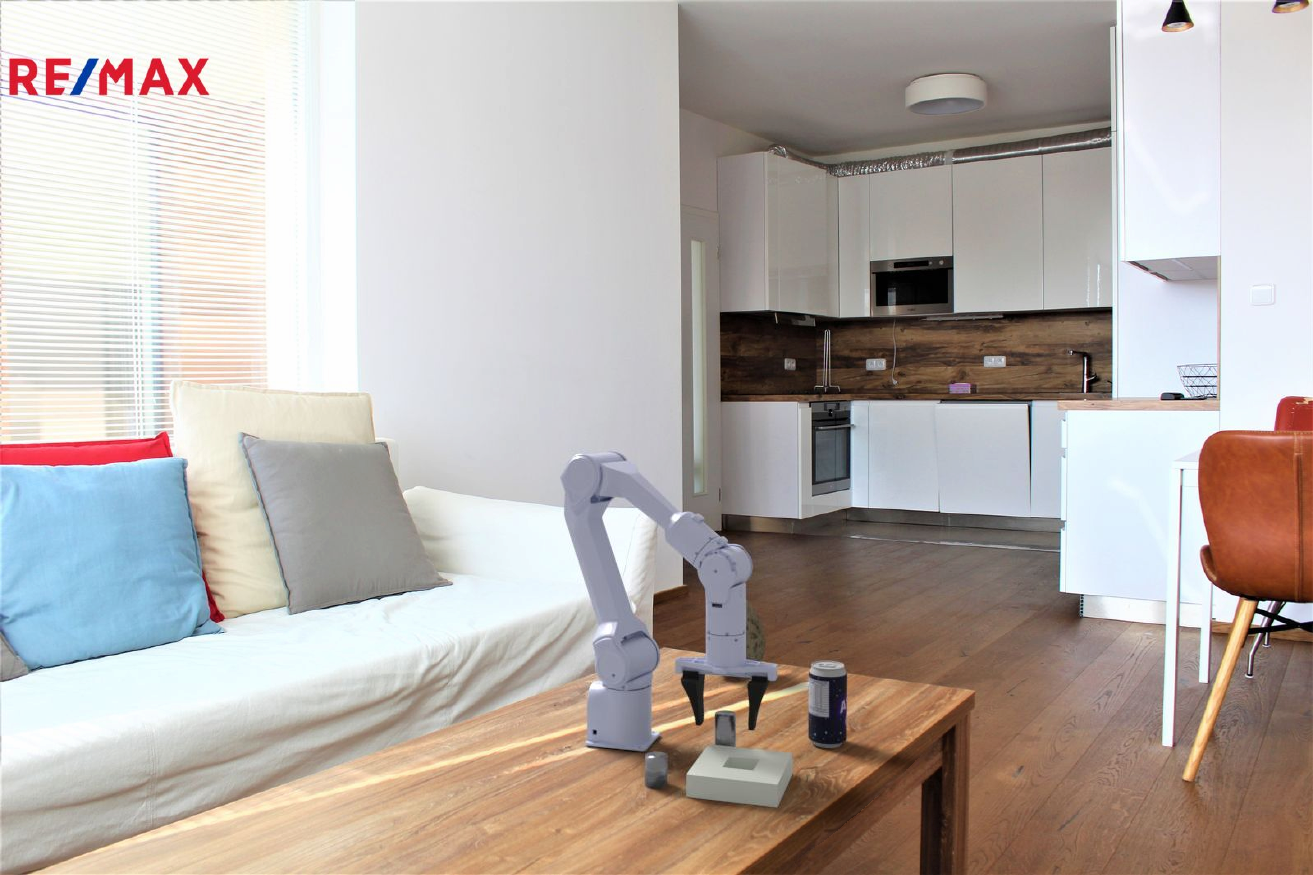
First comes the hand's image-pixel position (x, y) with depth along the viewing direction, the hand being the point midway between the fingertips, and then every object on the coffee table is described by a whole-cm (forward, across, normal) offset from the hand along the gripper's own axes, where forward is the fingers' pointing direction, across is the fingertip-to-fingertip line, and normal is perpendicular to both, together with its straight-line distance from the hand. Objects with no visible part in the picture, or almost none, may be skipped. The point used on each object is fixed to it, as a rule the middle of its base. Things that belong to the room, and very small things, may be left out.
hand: (725, 726), depth 147 cm
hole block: (+5, +4, -8) cm, 10 cm away
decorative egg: (+5, -8, +44) cm, 45 cm away
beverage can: (+6, +13, +12) cm, 18 cm away
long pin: (+5, 0, 0) cm, 5 cm away
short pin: (+5, -7, -11) cm, 14 cm away
